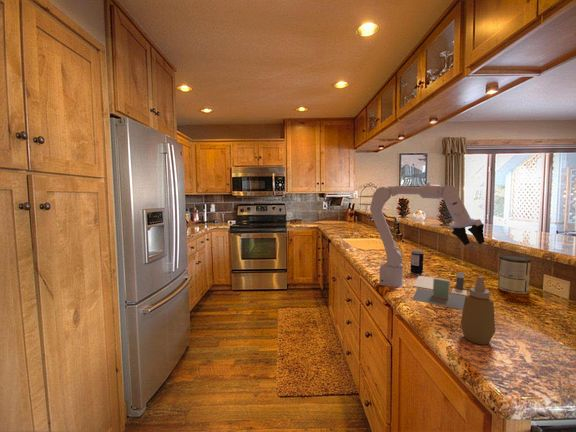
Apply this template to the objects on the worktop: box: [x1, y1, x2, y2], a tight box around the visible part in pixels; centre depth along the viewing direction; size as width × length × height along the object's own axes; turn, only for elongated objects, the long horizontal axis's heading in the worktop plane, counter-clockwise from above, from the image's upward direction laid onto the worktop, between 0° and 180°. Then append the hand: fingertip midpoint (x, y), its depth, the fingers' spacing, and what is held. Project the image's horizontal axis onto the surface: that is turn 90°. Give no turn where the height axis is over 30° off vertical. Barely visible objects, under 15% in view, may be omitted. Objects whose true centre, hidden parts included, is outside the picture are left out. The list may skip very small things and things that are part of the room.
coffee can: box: [497, 254, 532, 295], centre depth 117 cm, size 10×10×14 cm
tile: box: [432, 277, 451, 299], centre depth 108 cm, size 6×2×7 cm, turn 57°
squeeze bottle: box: [460, 276, 496, 345], centre depth 77 cm, size 8×8×18 cm
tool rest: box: [412, 275, 435, 291], centre depth 124 cm, size 8×17×1 cm, turn 147°
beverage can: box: [410, 249, 425, 276], centre depth 140 cm, size 6×6×12 cm
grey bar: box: [451, 271, 468, 297], centre depth 116 cm, size 5×15×6 cm, turn 147°
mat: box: [411, 287, 466, 311], centre depth 106 cm, size 19×15×1 cm
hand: (474, 243), depth 110 cm, fingers open, 7 cm apart
